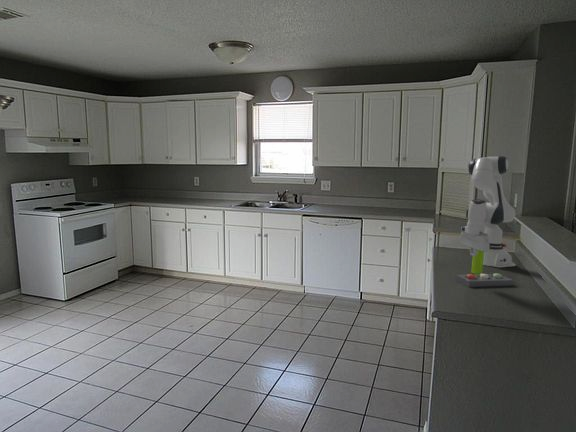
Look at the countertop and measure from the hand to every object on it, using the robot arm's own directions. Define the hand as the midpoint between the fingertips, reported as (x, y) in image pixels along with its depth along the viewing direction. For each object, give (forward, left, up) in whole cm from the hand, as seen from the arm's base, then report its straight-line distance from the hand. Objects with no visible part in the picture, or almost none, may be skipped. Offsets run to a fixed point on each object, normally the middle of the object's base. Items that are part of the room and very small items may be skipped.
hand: (473, 255), depth 220 cm
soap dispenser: (-17, -18, -15) cm, 29 cm away
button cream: (-8, 0, -14) cm, 16 cm away
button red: (0, 0, -14) cm, 14 cm away
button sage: (-16, 0, -14) cm, 21 cm away
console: (-8, 0, -15) cm, 17 cm away
